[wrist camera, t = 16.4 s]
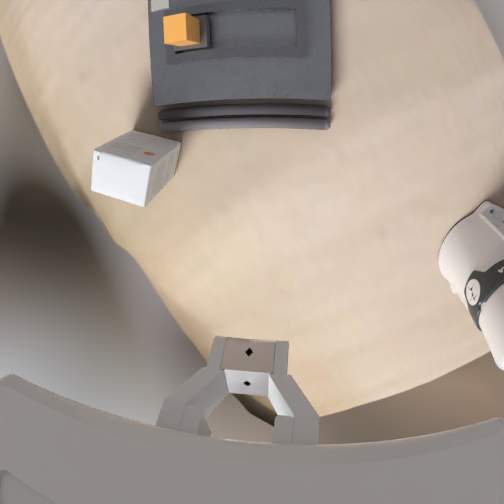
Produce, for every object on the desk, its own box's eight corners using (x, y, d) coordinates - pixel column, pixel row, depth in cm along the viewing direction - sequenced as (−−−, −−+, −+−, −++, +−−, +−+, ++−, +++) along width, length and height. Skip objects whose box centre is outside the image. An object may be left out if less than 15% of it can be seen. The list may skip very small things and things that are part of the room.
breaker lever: (209, 17, 26) (193, 7, 21) (210, 47, 29) (194, 43, 24) (177, 21, 27) (156, 14, 22) (178, 51, 29) (157, 49, 24)
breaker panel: (325, -27, 23) (328, -36, 20) (328, 99, 33) (332, 101, 30) (154, -13, 25) (142, -18, 22) (160, 104, 35) (149, 108, 32)
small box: (127, 163, 41) (89, 191, 32) (133, 128, 38) (92, 149, 29) (174, 177, 42) (144, 209, 33) (183, 141, 38) (151, 165, 30)
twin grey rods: (330, 105, 33) (331, 106, 32) (329, 129, 35) (330, 131, 34) (159, 110, 36) (155, 111, 35) (162, 131, 38) (158, 134, 37)
